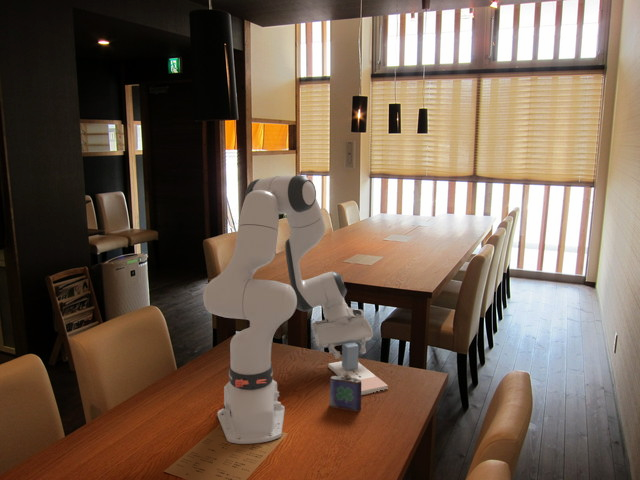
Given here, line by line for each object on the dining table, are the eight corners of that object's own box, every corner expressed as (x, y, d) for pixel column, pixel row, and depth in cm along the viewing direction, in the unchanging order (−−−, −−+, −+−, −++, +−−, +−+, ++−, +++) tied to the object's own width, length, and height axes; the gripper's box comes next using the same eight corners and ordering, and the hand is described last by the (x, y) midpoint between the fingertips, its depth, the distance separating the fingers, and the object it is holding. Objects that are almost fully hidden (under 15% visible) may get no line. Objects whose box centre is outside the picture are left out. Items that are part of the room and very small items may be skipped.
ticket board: (387, 389, 166) (388, 385, 165) (359, 395, 162) (359, 391, 161) (354, 362, 185) (354, 358, 185) (328, 366, 181) (328, 363, 181)
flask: (328, 407, 155) (329, 372, 153) (331, 402, 157) (332, 368, 155) (359, 412, 152) (361, 377, 150) (362, 407, 155) (363, 372, 153)
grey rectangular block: (358, 368, 177) (358, 345, 175) (347, 370, 175) (347, 347, 173) (352, 363, 180) (352, 341, 179) (341, 365, 178) (342, 343, 177)
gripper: (313, 317, 176) (325, 356, 169) (367, 309, 185) (381, 346, 178) (307, 326, 181) (319, 364, 174) (360, 318, 189) (373, 354, 183)
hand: (351, 355), depth 176 cm, fingers open, 8 cm apart
